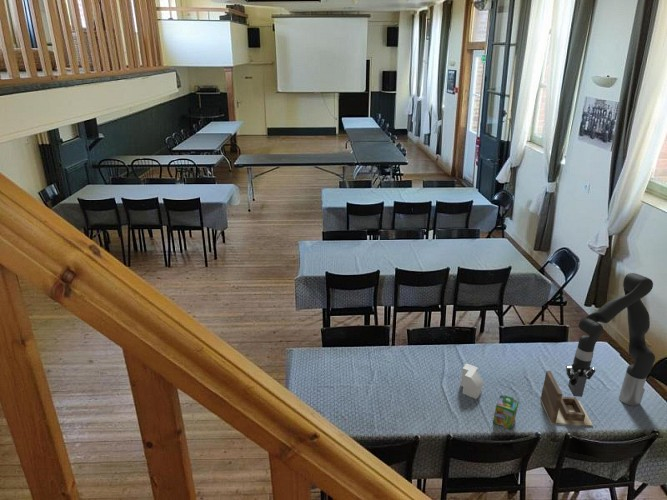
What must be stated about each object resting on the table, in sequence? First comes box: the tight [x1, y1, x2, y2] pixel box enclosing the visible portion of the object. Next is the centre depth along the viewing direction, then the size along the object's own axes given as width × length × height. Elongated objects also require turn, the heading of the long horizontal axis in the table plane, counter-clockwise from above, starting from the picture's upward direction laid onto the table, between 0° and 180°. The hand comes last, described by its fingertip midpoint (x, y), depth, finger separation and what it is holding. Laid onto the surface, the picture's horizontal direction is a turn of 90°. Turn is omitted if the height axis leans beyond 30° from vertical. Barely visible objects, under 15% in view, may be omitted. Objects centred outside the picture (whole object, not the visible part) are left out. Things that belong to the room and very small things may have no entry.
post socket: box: [540, 370, 594, 427], centre depth 246 cm, size 20×18×19 cm
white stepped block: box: [460, 363, 484, 400], centre depth 264 cm, size 11×11×12 cm
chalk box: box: [492, 395, 519, 430], centre depth 241 cm, size 9×9×15 cm
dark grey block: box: [567, 369, 588, 398], centre depth 242 cm, size 4×8×12 cm, turn 175°
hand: (576, 384), depth 243 cm, fingers closed on dark grey block, 4 cm apart
